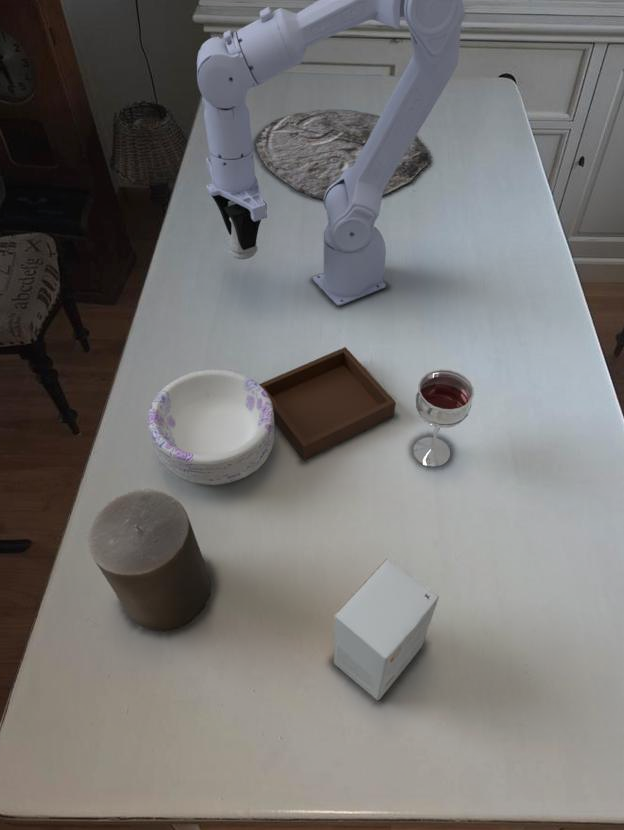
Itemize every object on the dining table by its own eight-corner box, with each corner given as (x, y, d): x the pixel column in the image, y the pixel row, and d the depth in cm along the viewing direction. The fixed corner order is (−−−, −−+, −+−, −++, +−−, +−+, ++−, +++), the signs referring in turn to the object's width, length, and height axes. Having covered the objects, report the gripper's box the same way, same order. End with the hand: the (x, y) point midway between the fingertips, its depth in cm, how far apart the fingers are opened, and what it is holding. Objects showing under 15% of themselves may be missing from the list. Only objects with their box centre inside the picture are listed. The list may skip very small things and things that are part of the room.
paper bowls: (300, 453, 83) (298, 413, 77) (208, 520, 77) (197, 483, 70) (228, 391, 89) (221, 349, 83) (137, 448, 83) (121, 408, 76)
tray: (344, 361, 93) (345, 346, 91) (394, 416, 88) (396, 402, 85) (258, 400, 88) (256, 385, 86) (304, 460, 83) (303, 446, 80)
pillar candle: (217, 618, 70) (195, 554, 57) (127, 642, 68) (84, 580, 56) (203, 544, 75) (180, 471, 63) (119, 564, 73) (78, 492, 61)
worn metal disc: (320, 95, 141) (320, 93, 140) (455, 146, 130) (455, 144, 129) (219, 156, 125) (218, 154, 124) (363, 220, 114) (363, 218, 114)
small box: (378, 610, 71) (387, 555, 60) (423, 645, 69) (441, 595, 58) (331, 663, 67) (332, 615, 57) (377, 703, 65) (387, 660, 54)
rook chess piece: (252, 262, 94) (247, 213, 88) (224, 258, 95) (216, 208, 88) (261, 245, 97) (256, 196, 90) (233, 240, 97) (227, 191, 91)
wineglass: (397, 440, 85) (407, 377, 75) (442, 426, 87) (457, 363, 77) (420, 478, 82) (434, 417, 72) (466, 462, 83) (485, 401, 73)
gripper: (180, 131, 85) (196, 223, 96) (228, 182, 78) (240, 274, 89) (227, 119, 87) (238, 209, 99) (277, 167, 81) (283, 259, 92)
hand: (242, 239), depth 94 cm, fingers closed on rook chess piece, 3 cm apart
